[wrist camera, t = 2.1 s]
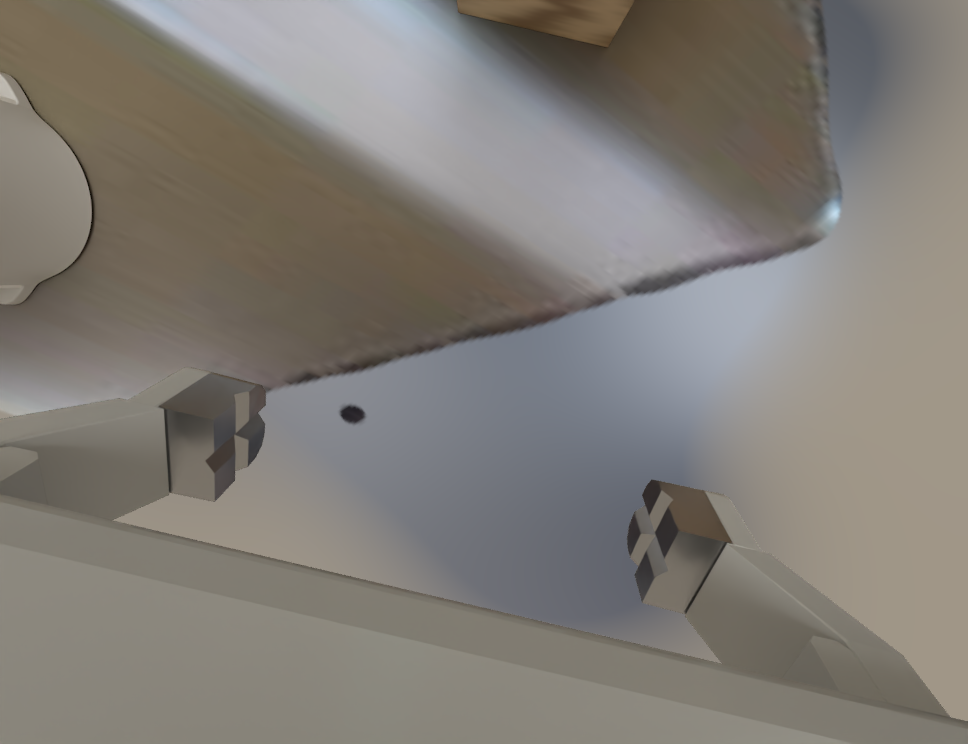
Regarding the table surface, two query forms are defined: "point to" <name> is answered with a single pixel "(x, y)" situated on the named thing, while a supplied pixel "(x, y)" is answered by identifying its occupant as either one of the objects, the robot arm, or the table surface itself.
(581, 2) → the oak stand
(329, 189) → the table surface
